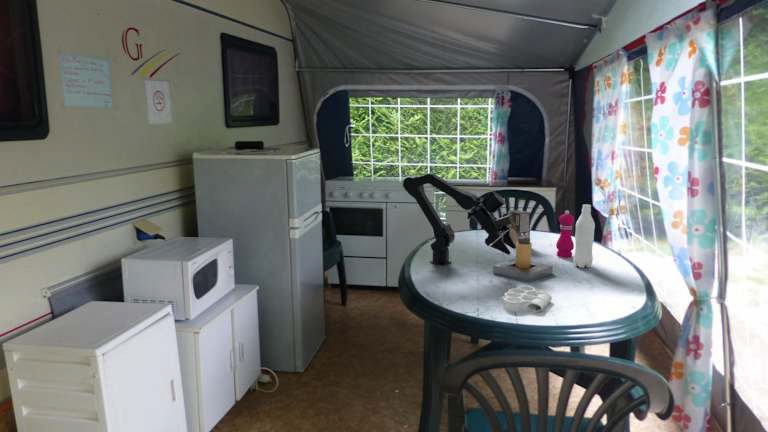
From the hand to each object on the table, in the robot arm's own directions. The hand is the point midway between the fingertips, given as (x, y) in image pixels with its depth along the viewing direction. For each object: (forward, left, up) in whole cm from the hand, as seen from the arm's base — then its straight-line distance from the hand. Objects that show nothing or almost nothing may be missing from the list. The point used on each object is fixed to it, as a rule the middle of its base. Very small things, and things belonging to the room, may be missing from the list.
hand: (512, 251), depth 203 cm
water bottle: (+27, -15, -8) cm, 32 cm away
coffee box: (+37, +22, -8) cm, 44 cm away
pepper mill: (+36, -2, -8) cm, 37 cm away
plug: (+2, -4, -8) cm, 9 cm away
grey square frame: (+2, -4, -8) cm, 9 cm away
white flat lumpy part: (-26, -23, -9) cm, 35 cm away
